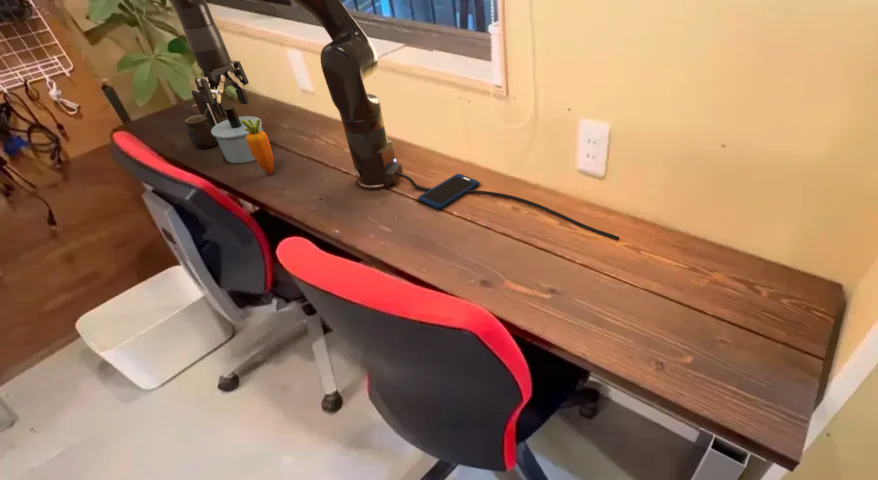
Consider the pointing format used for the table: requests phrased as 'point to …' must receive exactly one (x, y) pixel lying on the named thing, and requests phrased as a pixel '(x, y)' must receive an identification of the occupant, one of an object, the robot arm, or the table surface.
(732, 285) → the table surface
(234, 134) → the lid
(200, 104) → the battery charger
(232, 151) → the pot
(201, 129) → the mate gourd
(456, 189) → the cell phone
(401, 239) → the table surface
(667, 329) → the table surface
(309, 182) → the table surface
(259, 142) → the carrot
